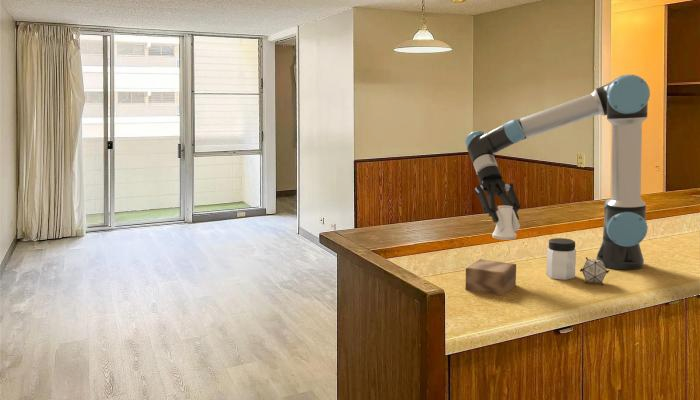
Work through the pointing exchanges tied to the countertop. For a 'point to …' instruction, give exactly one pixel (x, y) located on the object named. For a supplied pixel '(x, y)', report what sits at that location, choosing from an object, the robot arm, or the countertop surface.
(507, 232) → the salt shaker
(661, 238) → the countertop surface
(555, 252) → the jar
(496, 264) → the walnut box
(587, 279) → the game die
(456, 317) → the countertop surface
